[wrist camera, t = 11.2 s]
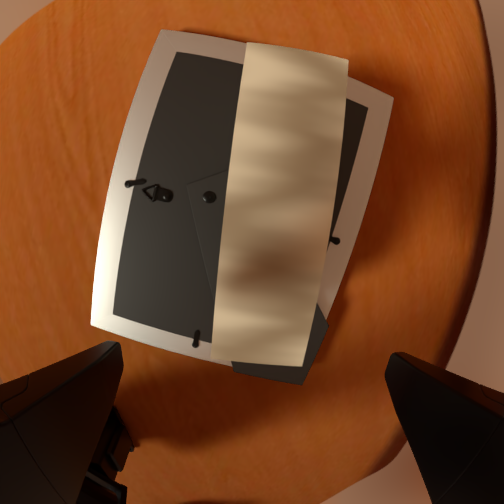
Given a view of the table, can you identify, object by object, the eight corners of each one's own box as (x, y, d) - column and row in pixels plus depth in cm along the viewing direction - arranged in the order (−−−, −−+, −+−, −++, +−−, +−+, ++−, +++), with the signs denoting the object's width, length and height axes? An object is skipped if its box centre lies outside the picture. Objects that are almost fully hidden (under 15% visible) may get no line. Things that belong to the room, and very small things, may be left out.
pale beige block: (210, 358, 12) (247, 42, 9) (221, 304, 18) (247, 87, 15) (302, 366, 12) (348, 60, 9) (286, 311, 18) (316, 97, 15)
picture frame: (295, 363, 22) (380, 104, 18) (302, 385, 20) (399, 95, 15) (101, 313, 21) (168, 41, 16) (86, 329, 18) (158, 24, 14)
